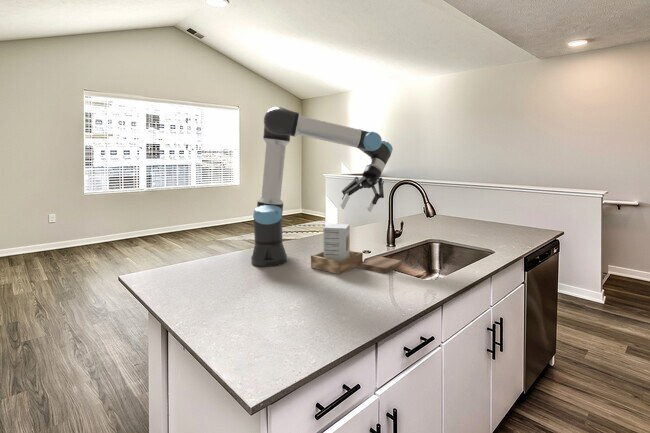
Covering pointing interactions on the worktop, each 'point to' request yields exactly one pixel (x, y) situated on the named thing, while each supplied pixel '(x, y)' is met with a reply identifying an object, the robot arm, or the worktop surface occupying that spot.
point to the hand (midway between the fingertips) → (355, 208)
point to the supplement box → (336, 241)
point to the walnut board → (380, 264)
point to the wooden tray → (336, 262)
